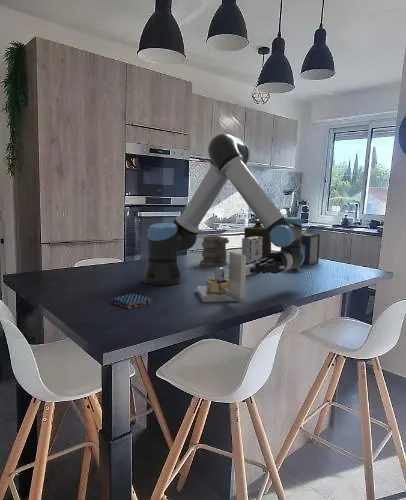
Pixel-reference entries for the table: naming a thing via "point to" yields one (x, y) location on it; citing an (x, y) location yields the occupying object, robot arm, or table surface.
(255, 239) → the candy bar box
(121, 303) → the woven mat
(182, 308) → the table surface
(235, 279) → the ring nut
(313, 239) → the protein box
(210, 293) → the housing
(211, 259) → the tankard
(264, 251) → the wooden container
